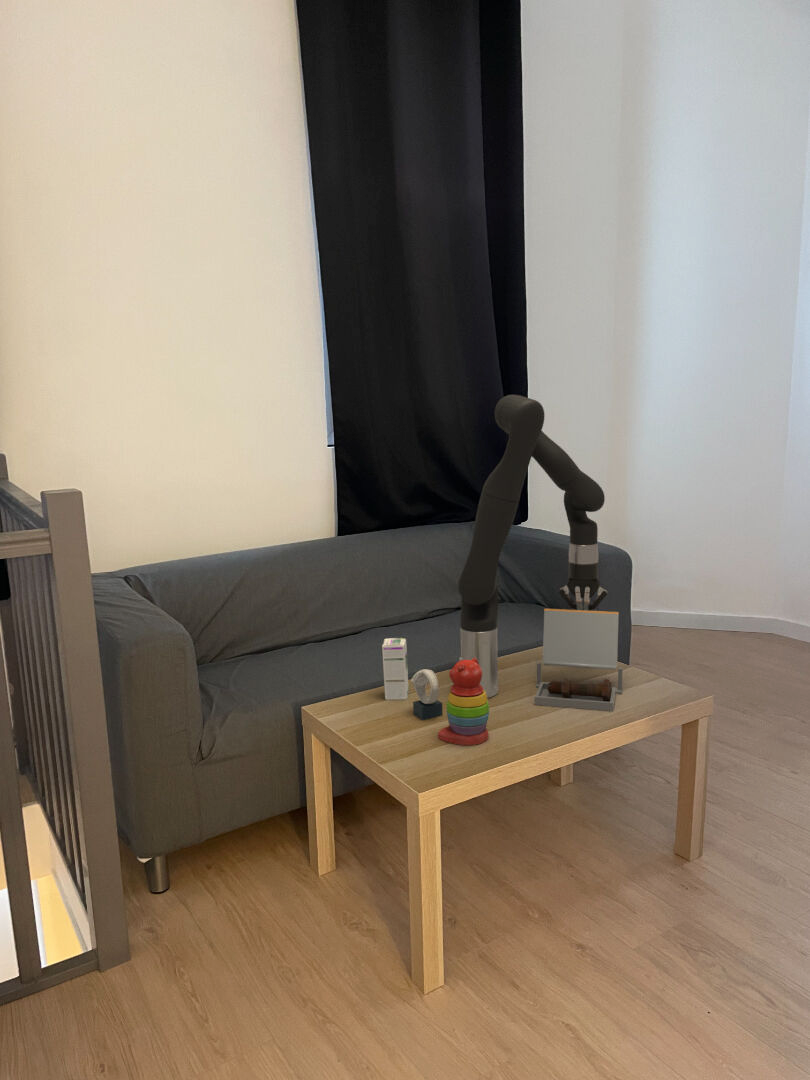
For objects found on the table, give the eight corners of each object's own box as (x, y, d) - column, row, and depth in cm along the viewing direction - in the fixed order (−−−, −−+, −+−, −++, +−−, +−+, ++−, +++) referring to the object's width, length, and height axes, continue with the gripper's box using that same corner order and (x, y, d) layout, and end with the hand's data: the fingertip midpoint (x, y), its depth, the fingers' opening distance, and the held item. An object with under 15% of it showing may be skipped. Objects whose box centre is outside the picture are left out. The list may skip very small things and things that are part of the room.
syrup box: (407, 700, 207) (405, 644, 205) (384, 700, 208) (381, 644, 205) (408, 691, 213) (407, 637, 210) (386, 691, 213) (383, 637, 211)
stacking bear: (467, 723, 192) (465, 649, 189) (500, 735, 185) (499, 659, 181) (433, 737, 185) (431, 661, 182) (467, 750, 178) (465, 671, 174)
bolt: (549, 700, 207) (610, 705, 202) (545, 697, 203) (608, 701, 197) (551, 677, 209) (612, 681, 204) (547, 673, 205) (609, 677, 199)
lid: (544, 608, 214) (544, 608, 216) (542, 664, 213) (543, 664, 215) (618, 612, 209) (618, 612, 210) (616, 670, 208) (616, 669, 209)
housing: (528, 704, 202) (528, 680, 201) (537, 683, 216) (537, 661, 215) (619, 711, 196) (619, 687, 195) (622, 689, 209) (622, 667, 208)
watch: (429, 706, 203) (428, 663, 201) (446, 717, 196) (445, 673, 194) (409, 711, 200) (407, 668, 198) (425, 722, 193) (424, 677, 191)
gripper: (556, 562, 214) (555, 626, 217) (608, 563, 210) (607, 629, 213) (559, 556, 221) (559, 618, 224) (610, 557, 217) (609, 621, 221)
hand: (582, 623), depth 219 cm, fingers closed
